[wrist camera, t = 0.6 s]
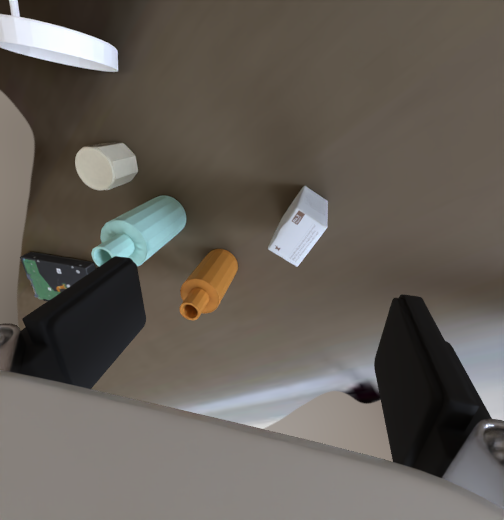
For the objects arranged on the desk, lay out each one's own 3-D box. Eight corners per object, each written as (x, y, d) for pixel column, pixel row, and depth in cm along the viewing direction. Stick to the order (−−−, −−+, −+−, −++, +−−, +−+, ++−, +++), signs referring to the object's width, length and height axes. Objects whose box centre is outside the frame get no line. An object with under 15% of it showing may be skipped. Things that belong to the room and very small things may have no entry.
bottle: (146, 193, 47) (71, 229, 33) (184, 196, 46) (122, 235, 32) (152, 231, 50) (85, 279, 36) (188, 235, 49) (133, 285, 35)
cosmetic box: (305, 232, 44) (298, 271, 33) (280, 216, 44) (265, 250, 33) (329, 198, 41) (331, 230, 30) (303, 181, 40) (295, 207, 30)
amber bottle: (204, 246, 49) (166, 290, 37) (237, 250, 48) (209, 296, 36) (206, 276, 52) (171, 325, 40) (238, 280, 50) (211, 332, 39)
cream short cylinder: (99, 142, 45) (70, 146, 39) (133, 143, 43) (107, 148, 38) (108, 180, 47) (81, 188, 42) (140, 182, 46) (116, 191, 41)
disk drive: (95, 260, 56) (30, 250, 58) (85, 267, 54) (17, 256, 56) (106, 303, 61) (45, 293, 63) (97, 311, 58) (34, 300, 61)
